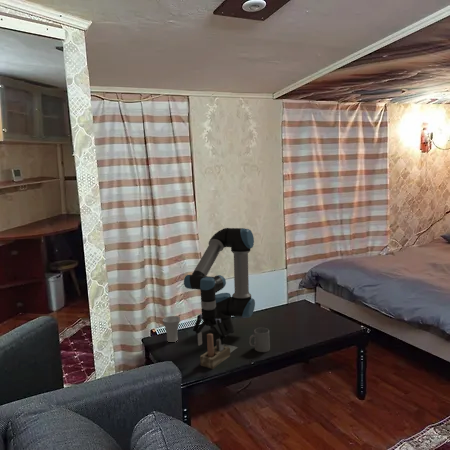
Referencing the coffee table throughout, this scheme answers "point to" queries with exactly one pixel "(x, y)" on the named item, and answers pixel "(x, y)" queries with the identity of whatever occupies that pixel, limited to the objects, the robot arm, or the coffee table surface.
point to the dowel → (210, 345)
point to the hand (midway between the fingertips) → (210, 347)
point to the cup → (171, 327)
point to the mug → (261, 340)
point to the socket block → (215, 356)
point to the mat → (230, 347)
